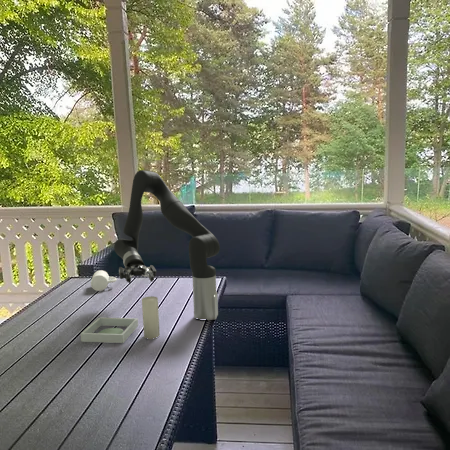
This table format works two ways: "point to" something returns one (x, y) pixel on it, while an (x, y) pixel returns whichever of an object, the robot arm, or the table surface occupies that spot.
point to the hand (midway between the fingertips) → (141, 280)
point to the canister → (150, 317)
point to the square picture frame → (109, 338)
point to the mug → (101, 280)
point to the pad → (112, 331)
